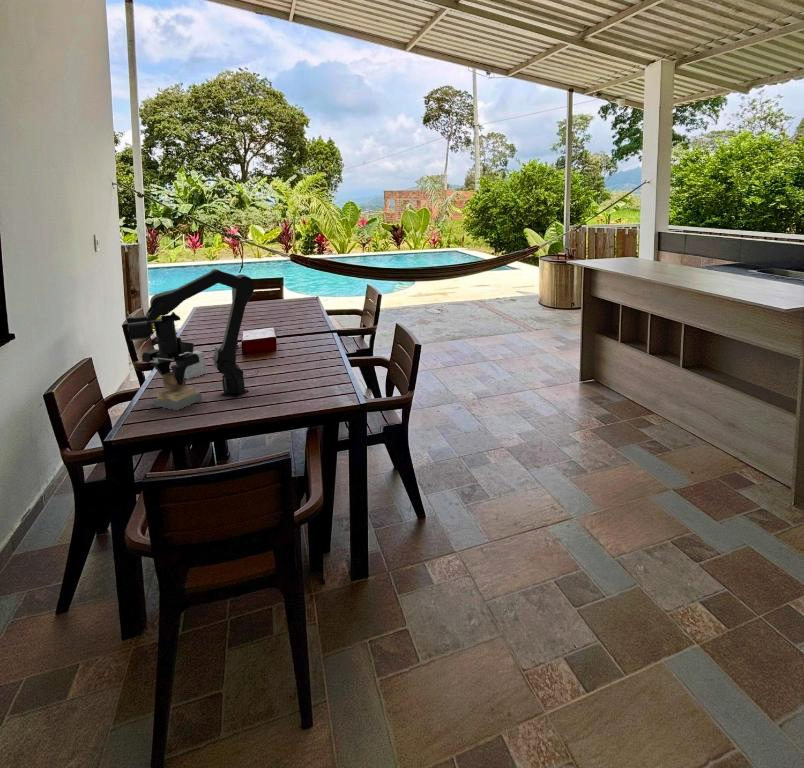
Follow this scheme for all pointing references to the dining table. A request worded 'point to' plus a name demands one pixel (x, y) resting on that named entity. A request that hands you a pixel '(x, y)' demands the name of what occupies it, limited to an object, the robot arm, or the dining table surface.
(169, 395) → the oak block
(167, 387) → the walnut cube
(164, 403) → the slate slab
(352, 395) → the dining table surface
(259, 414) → the dining table surface
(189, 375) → the medicine box
